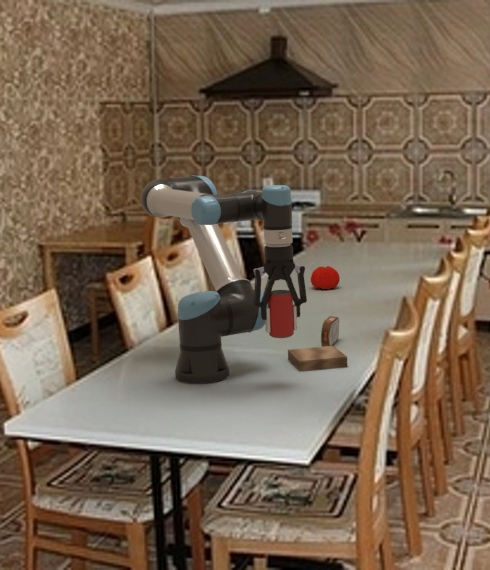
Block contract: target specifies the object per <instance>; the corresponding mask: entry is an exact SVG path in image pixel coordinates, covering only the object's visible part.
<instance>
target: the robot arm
mask: <svg viewBox="0 0 490 570" xmlns="http://www.w3.org/2000/svg"><path fill="white" fill-rule="evenodd" d="M261 190H262V191H257V190H253V189H252V190H244V191H242V192H235V193H228V194H218V191H217V188H216V186H215V184H214V183H213V181H212V180H211V179H210V178H208V177H206V176H204V175H189V176H180V177H179V176H176V177H167V178H165V177H164V178H158V179H154V180H152V181H151V182H149V183H148V184H146V185H145V186H144V188H142V191H141V192H140V197H139V199H140V200H139V201H140V205H141V206H140V207H142V209H143V211H144V212H145V213H146V214H148V215H149V216H151V217H153V218H154V217H156V218H170V217H175V218H178V221H179V223H180V224H181V226H183V227H184V228H187V229H188V231H189V233H190V236H191V238H192V240H193V242H194V245H195V247H196V249H197V252H198V254H199V256H200V259H201V261H202V263H203V265H204V267H205V269H206V272H207V274H208V276H209V278H210V281H211V283H212V286H213V287H214V289H215V291H214V290H205V291H196V292H193V293H190V294H187V295H185V296H183V297H181V298H180V299H179V301H178V304H177V321H178V322H177V323H178V335H179V337H178V338H179V355H178V357H177V358H178V359H177V362H176V366H175V370H174V373H175V380H177V381H178V382H180V383H187V384H209V383H211V384H212V383H215V382H220V381H223V380H225V379H226V380H227V378H229V376H230V367H229V364H228V361H227V359H226V355H225V354H224V353H225V352H224V350H223V347H222V337H227V336H228V337H229V336H234V335H240V334H245V333H252V332H254V331H258V330H261V329H263V328H264V326H265V329H264V330H265V332H266V333H268V334H269V333H270V308H268V301H269V297H270V294H271V291H273V286H274V284H275V283H276V281H279V280H282V281H285V283H286V286H287V288H288V290H289V291H290V294H291V296H292V299H293V303H294V304H293V325H294V331H298V319H297V318H300V317H301V305H303V304H306V303H307V302H308V298H307V289H306V283H305V282H306V281H305V272H306V271H305V270H306V267H305V265H302V264H300V265H299V264H296V263H295V262H294V247H293V246H294V245H292V244H293V240H294V239H293V210H292V209H293V208H292V207H293V200H292V192H291V188H290V187H289V186H288V185H285V184H284V185H283V184H281V185H280V184H277V185H276V184H275V185H274V184H273V185H266V186H263V187H262V189H261ZM246 221H262V224H263V243H264V245H265V246H264V247H263V250H264V252H263V253H264V262H263V266H261V267H258V268H256V267H255V268H253V269H252V271H253V275H254V287H253V285H252V283H251V281H250V280H249V279H247V278H244V277H243V276H242V274H241V271H240V270H239V267H238V265H237V263H236V261H235V258H234V257H233V255H232V252H231V249H230V247H229V246H228V244H227V241H226V239H225V237H224V234H223V232H222V231H221V228H220V226H219V224H226V223H236V222H246ZM294 270H295V273H297V283H298V290H299V293H297V291H296V288H295V285H294V283H293V279H292V277H291V275H292V273H293V271H294ZM264 272H265V274H267V280H266V285H265V288H264V291H263V290H262V276H263V275H264ZM298 294H299V296H298Z"/></svg>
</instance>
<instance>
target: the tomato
mask: <svg viewBox="0 0 490 570" xmlns="http://www.w3.org/2000/svg"><path fill="white" fill-rule="evenodd" d="M340 279H341V278H340V274H339V271H338V270H337V269H335V268H333V267H332V266H326V267H325V266H317V267H316V268H315V269H314V270H313V271H312V273H311V277H310V283H311V285H312V286H313V287H314V289H317V288H318V290H323V289H328V290H332V289H331V288H333V289H334V288H336V287H337V286H338V285H339V284H340ZM320 288H321V289H320Z"/></svg>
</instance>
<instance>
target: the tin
mask: <svg viewBox="0 0 490 570" xmlns="http://www.w3.org/2000/svg"><path fill="white" fill-rule="evenodd" d="M320 332H321V333H320V343H321V347H325V346H334V344H336V343H337V342H338V340H339V333H340V319H339V317H338V316H333V315H329V316H327V318H325V320H324V321H323V322H322V327H321V331H320Z"/></svg>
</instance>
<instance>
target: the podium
mask: <svg viewBox="0 0 490 570" xmlns="http://www.w3.org/2000/svg"><path fill="white" fill-rule="evenodd" d="M287 359H288V361H289V362H290V363H291V364H292V365H293V366H294V368H295V369H297V371H299V372H309V371H318V370H329V369H342V368H348V355H346V354H345V353H343V351H341V350H340V349H339V348H337V347H336V346H334V345H333V346H325V347H322V346H316V347H305V348H293V349H287Z"/></svg>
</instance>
